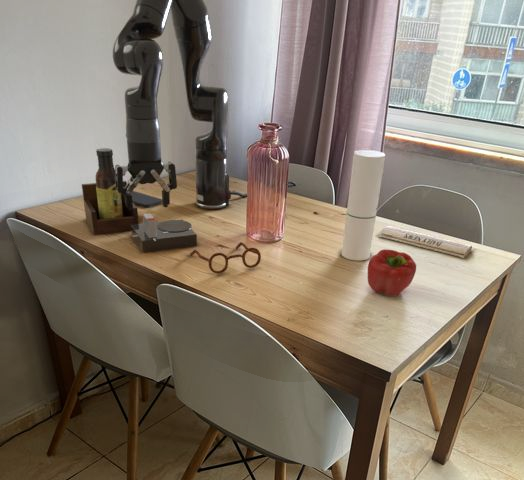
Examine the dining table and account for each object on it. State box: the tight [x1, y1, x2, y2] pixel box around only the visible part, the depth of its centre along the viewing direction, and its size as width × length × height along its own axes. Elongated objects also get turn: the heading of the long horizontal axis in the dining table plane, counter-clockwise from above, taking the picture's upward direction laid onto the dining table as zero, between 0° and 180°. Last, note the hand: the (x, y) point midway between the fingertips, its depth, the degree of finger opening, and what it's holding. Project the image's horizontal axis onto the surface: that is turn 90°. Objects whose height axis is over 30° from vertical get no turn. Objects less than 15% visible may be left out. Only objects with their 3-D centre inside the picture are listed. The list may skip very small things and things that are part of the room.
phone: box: [131, 190, 163, 208], centre depth 169 cm, size 7×1×15 cm
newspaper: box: [378, 225, 473, 259], centre depth 148 cm, size 24×7×2 cm, turn 56°
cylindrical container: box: [341, 149, 386, 261], centre depth 133 cm, size 7×7×25 cm
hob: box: [130, 221, 198, 253], centre depth 141 cm, size 16×13×3 cm
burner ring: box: [158, 219, 192, 232], centre depth 143 cm, size 9×9×1 cm
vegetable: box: [367, 248, 417, 297], centre depth 119 cm, size 11×10×10 cm
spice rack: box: [81, 180, 140, 235], centre depth 148 cm, size 12×12×10 cm
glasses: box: [189, 241, 262, 275], centre depth 131 cm, size 13×13×5 cm
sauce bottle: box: [95, 147, 123, 219], centre depth 145 cm, size 7×6×20 cm
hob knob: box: [142, 213, 157, 238], centre depth 136 cm, size 5×2×5 cm, turn 25°
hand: (148, 207), depth 134 cm, fingers open, 8 cm apart
